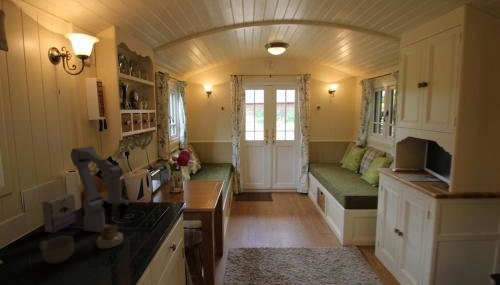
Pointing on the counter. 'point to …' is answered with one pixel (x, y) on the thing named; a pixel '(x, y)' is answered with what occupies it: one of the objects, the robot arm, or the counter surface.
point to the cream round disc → (110, 241)
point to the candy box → (59, 213)
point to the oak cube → (109, 232)
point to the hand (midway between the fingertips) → (116, 217)
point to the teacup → (57, 249)
